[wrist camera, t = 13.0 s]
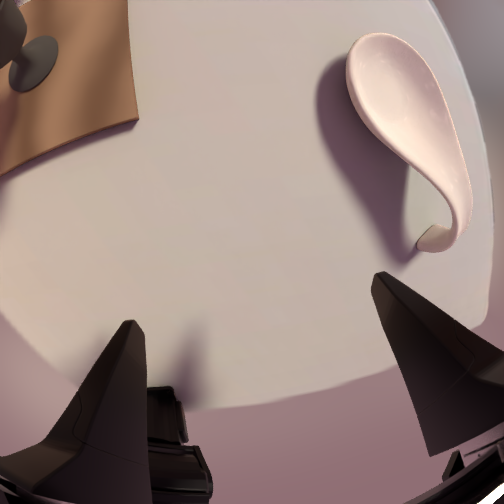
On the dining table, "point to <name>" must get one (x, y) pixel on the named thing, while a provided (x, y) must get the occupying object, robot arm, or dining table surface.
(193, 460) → the robot arm
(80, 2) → the serving board
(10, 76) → the sundae
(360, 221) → the dining table surface
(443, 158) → the spoon rest
